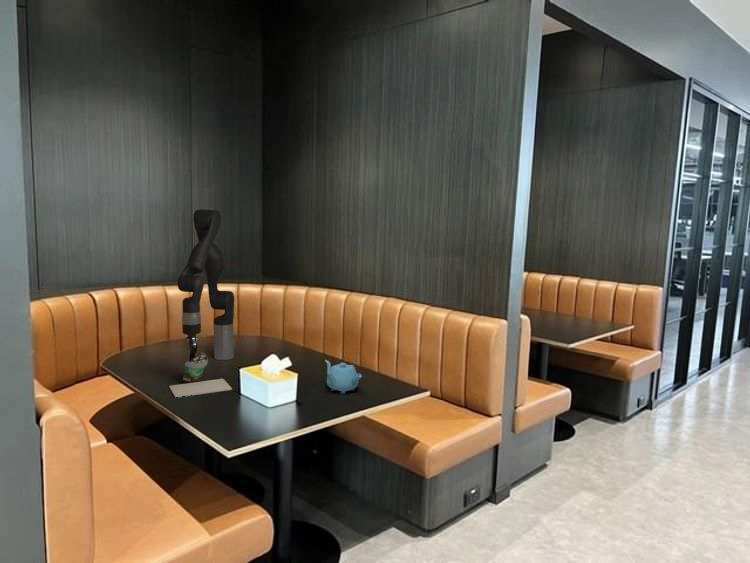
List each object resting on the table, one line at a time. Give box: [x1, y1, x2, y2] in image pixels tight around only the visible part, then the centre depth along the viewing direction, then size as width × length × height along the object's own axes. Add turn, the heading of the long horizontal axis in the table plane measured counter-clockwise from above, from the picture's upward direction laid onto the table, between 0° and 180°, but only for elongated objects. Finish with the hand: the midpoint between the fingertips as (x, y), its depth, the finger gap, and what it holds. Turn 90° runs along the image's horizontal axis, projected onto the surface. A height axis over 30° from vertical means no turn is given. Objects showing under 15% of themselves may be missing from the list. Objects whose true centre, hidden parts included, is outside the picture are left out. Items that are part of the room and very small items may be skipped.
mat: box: [168, 378, 233, 398], centre depth 224 cm, size 14×22×1 cm, turn 120°
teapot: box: [324, 359, 363, 395], centre depth 225 cm, size 15×14×11 cm
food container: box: [182, 351, 209, 383], centre depth 231 cm, size 12×6×10 cm, turn 168°
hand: (192, 361), depth 234 cm, fingers closed
